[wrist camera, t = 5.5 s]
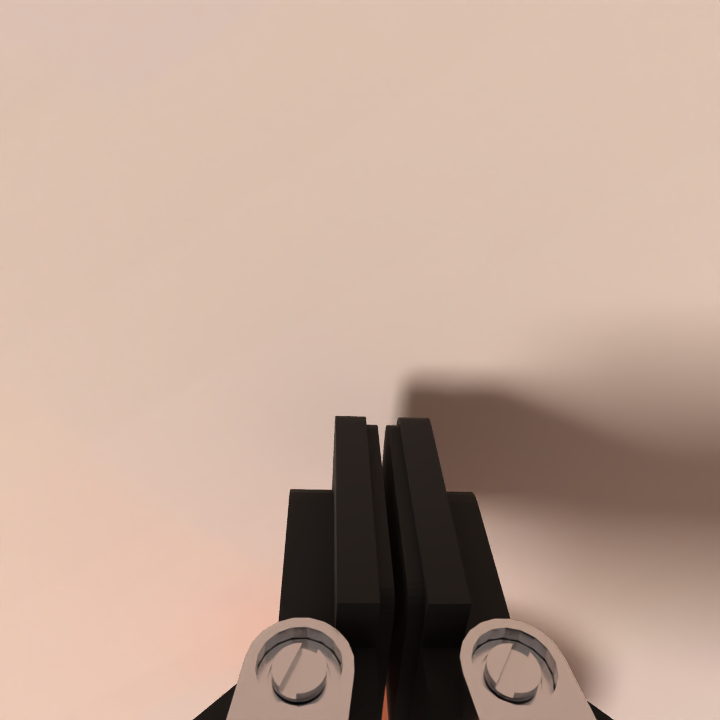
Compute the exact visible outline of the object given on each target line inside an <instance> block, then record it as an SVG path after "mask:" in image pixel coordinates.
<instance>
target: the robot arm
mask: <svg viewBox="0 0 720 720" xmlns="http://www.w3.org/2000/svg"><path fill="white" fill-rule="evenodd" d="M385 687H386V695H387V708H388V720H613V719H612V718H610V717H609V716H608V715H606V714H605V713H603V712H602V711H601V710H599V709H598V708H597V707H595V706H594V705H592V704H591V703H590V702H588V701H587V700H586V698H585V696H584V694H583V692H582V690H581V688H580V686H579V684H578V682H577V680H576V679H575V677H574V675H573V673H572V671H571V669H570V667H569V665H568V663H567V661H566V659H565V657H564V656H563V654H562V653H561V651H560V650H559V648H558V647H557V645H556V644H555V643H554V642H553V641H552V640H551V639H550V638H549V637H547V636H546V635H545V634H544V633H543V632H542V631H540V630H538V629H536V628H534V627H533V626H531V625H529V624H527V623H524V622H520V621H516V620H513V619H510V616H509V612H508V609H507V605H506V602H505V598H504V595H503V591H502V588H501V584H500V580H499V577H498V573H497V570H496V566H495V563H494V559H493V556H492V552H491V549H490V545H489V542H488V538H487V535H486V531H485V528H484V524H483V520H482V517H481V513H480V510H479V506H478V503H477V500H476V497H475V495H474V494H473V493H472V492H446V489H445V484H444V480H443V475H442V471H441V467H440V462H439V458H438V453H437V449H436V445H435V440H434V436H433V431H432V427H431V423H430V419H429V418H398V420H397V426H396V425H387V426H386V430H385V440H384V451H383V462H382V463H381V453H380V444H379V434H378V426H377V425H366V417H356V416H335V433H334V457H333V480H332V490H305V489H290V495H289V506H288V518H287V530H286V541H285V553H284V564H283V576H282V588H281V599H280V611H279V622H277V623H275V624H273V625H272V626H270V627H268V628H267V629H265V630H263V631H262V632H261V633H260V634H259V636H258V637H257V638H256V639H255V640H254V641H253V642H252V644H251V646H250V648H249V650H248V652H247V654H246V656H245V659H244V662H243V665H242V669H241V672H240V675H239V679H238V682H237V684H236V685H235V686H233V687H232V688H231V689H230V690H229V691H227V692H226V693H225V694H224V695H223V696H221V697H220V698H219V699H218V700H216V701H215V702H214V703H213V704H212V705H210V706H209V707H208V708H207V709H206V710H204V711H203V712H202V713H201V714H199V715H198V716H197V717H196V718H195V719H193V720H382V712H383V703H384V695H385Z"/></svg>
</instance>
